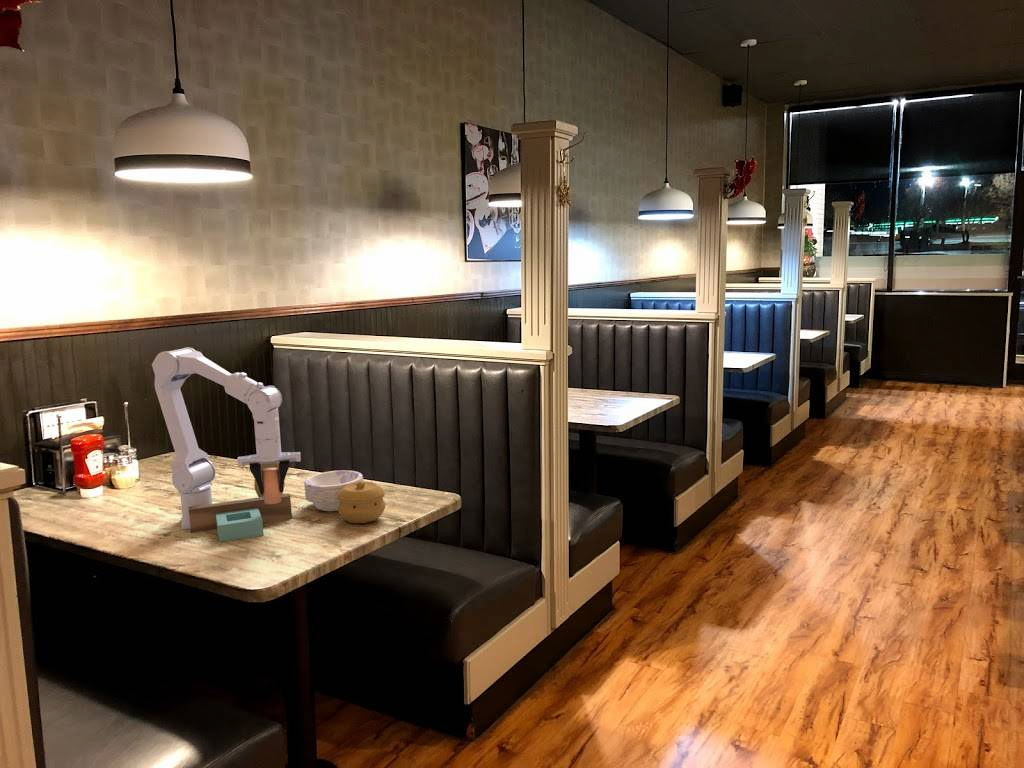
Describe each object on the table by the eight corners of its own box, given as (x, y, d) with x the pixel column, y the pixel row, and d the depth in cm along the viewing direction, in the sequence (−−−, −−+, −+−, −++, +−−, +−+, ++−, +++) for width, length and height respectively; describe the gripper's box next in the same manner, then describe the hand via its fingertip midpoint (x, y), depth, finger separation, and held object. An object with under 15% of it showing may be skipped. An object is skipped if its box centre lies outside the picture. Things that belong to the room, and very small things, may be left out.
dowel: (263, 500, 205) (261, 468, 204) (280, 498, 206) (278, 466, 205) (264, 504, 201) (262, 472, 200) (281, 502, 203) (279, 470, 201)
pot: (365, 510, 217) (362, 472, 216) (396, 518, 210) (394, 479, 208) (329, 522, 209) (326, 483, 207) (360, 531, 201) (357, 490, 200)
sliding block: (217, 529, 205) (215, 513, 205) (259, 523, 209) (258, 507, 208) (219, 542, 196) (217, 525, 195) (263, 535, 200) (262, 519, 199)
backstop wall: (190, 530, 206) (188, 507, 205) (290, 516, 214) (289, 493, 213) (191, 533, 203) (188, 509, 202) (292, 518, 212) (290, 495, 211)
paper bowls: (293, 511, 218) (291, 481, 217) (331, 495, 232) (329, 467, 230) (339, 518, 211) (337, 488, 210) (376, 501, 225) (374, 472, 223)
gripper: (298, 431, 207) (302, 484, 209) (237, 436, 203) (241, 490, 206) (298, 437, 200) (302, 492, 202) (235, 442, 197) (239, 498, 199)
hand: (271, 492), depth 203 cm, fingers closed on dowel, 4 cm apart
